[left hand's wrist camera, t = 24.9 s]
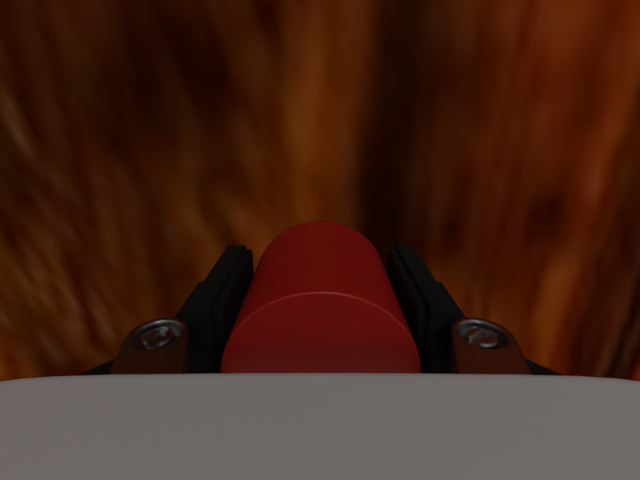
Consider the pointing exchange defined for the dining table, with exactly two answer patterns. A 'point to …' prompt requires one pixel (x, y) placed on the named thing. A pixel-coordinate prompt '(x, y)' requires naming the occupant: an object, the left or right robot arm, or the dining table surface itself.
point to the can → (320, 309)
